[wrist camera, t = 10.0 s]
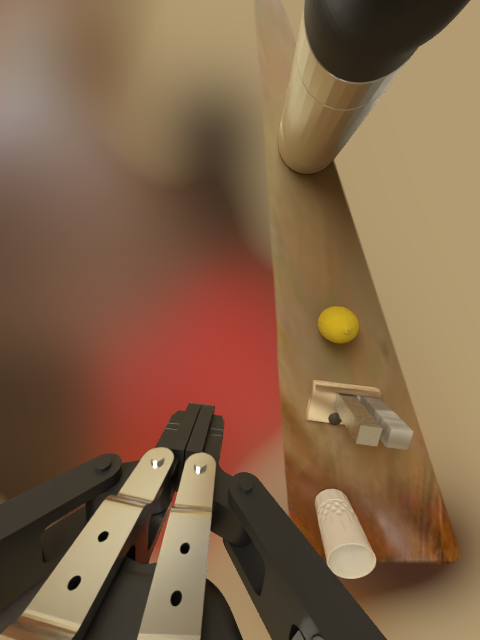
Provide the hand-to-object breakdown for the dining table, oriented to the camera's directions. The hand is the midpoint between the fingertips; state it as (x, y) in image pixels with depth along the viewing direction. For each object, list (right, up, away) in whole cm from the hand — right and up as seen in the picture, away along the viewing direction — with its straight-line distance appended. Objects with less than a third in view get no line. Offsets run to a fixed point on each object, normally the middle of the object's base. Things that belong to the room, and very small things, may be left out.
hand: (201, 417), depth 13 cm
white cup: (+21, -32, +34) cm, 51 cm away
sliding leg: (+21, -8, +27) cm, 35 cm away
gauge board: (+21, -9, +29) cm, 37 cm away
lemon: (+17, +6, +26) cm, 32 cm away
